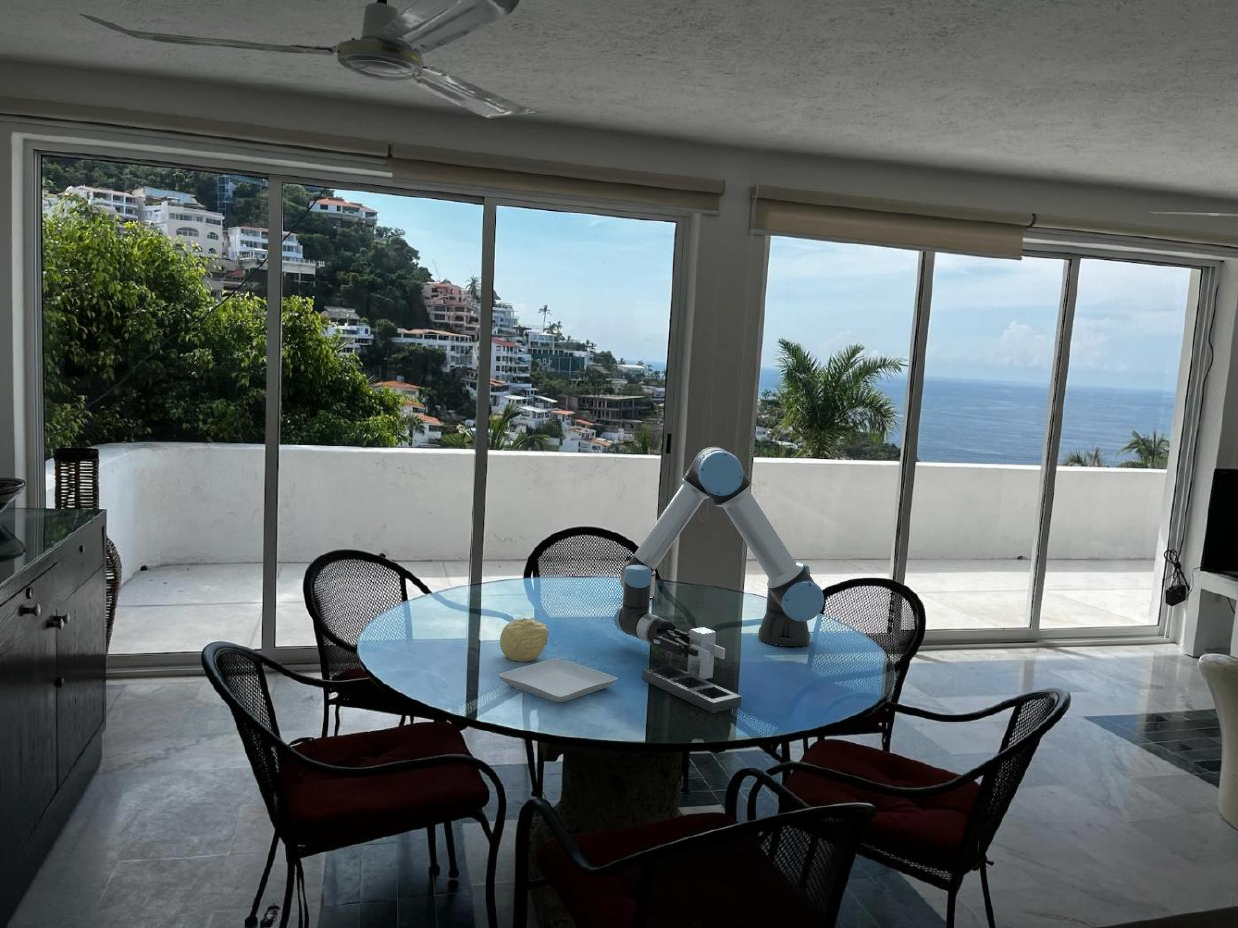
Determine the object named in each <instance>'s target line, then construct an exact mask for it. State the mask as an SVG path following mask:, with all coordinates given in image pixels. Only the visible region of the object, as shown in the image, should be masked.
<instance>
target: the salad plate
mask: <svg viewBox="0 0 1238 928" xmlns="http://www.w3.org/2000/svg"><path fill="white" fill-rule="evenodd" d="M497 677H498V678H499V679H500V680H501V682H503V683H505V684H507V685H509V686H511V687H514V688H517V689H518V688H519V689H518V690H520V689H521V690H520V691H523V690H524V691H523V692H525V691H526V693H529V694H531V695H532V696H537V697H539V696H540V697H539V698H542V699H545V700H547V699H548V701H551V702H554V703H555V702H556V703H565V702H568V701H571V700H575V699H578V698H582V697H584V696H587V695H589V694H592V693H595V692H598V691H600V690H603V689H606V688H609V687H611V686H612V685H614V684H615V683H616V682H617V681H618V679H619V678H618V677H616V676H613V675H612V674H608V673H605V672H602V671H599V670H597V669H594V668H591V667H589V666H585V665H582V664H578V663H575V662H571V661H569V660H565V659H562V658H558V657H555V658H550V659H546V660H543V661H539V662H536V663H535V662H534V663H531V664H528V665H525V666H521V667H518V668H515V669H511V670H508V671H503V672H501V673H499V674H498V675H497Z"/></svg>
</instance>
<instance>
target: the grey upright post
mask: <svg viewBox="0 0 1238 928" xmlns="http://www.w3.org/2000/svg"><path fill="white" fill-rule="evenodd" d="M689 630H690V641H689V647H690V645H692V644H693V645H695V646H698V647H700V648H703V649H705V650H707V651H710V654H709V662H705V661H702V660H700V659H698V658H695V657H693V656H690V655H689V654H688V658H687V659H688V660H687V671H686V672H688V673H690V674H693V675H695V676H697V677H699V678H702V679H704V680H707V679H713V675H714V674H713V673H714V665H715V664H714V661H715V656H714V651H715V645H716V637H717V636H716V635H717V632H716V631H715V630H713V629H709V628H707V627H705V626H704V627H703V626H702V627H697V628H692V629H689Z"/></svg>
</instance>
